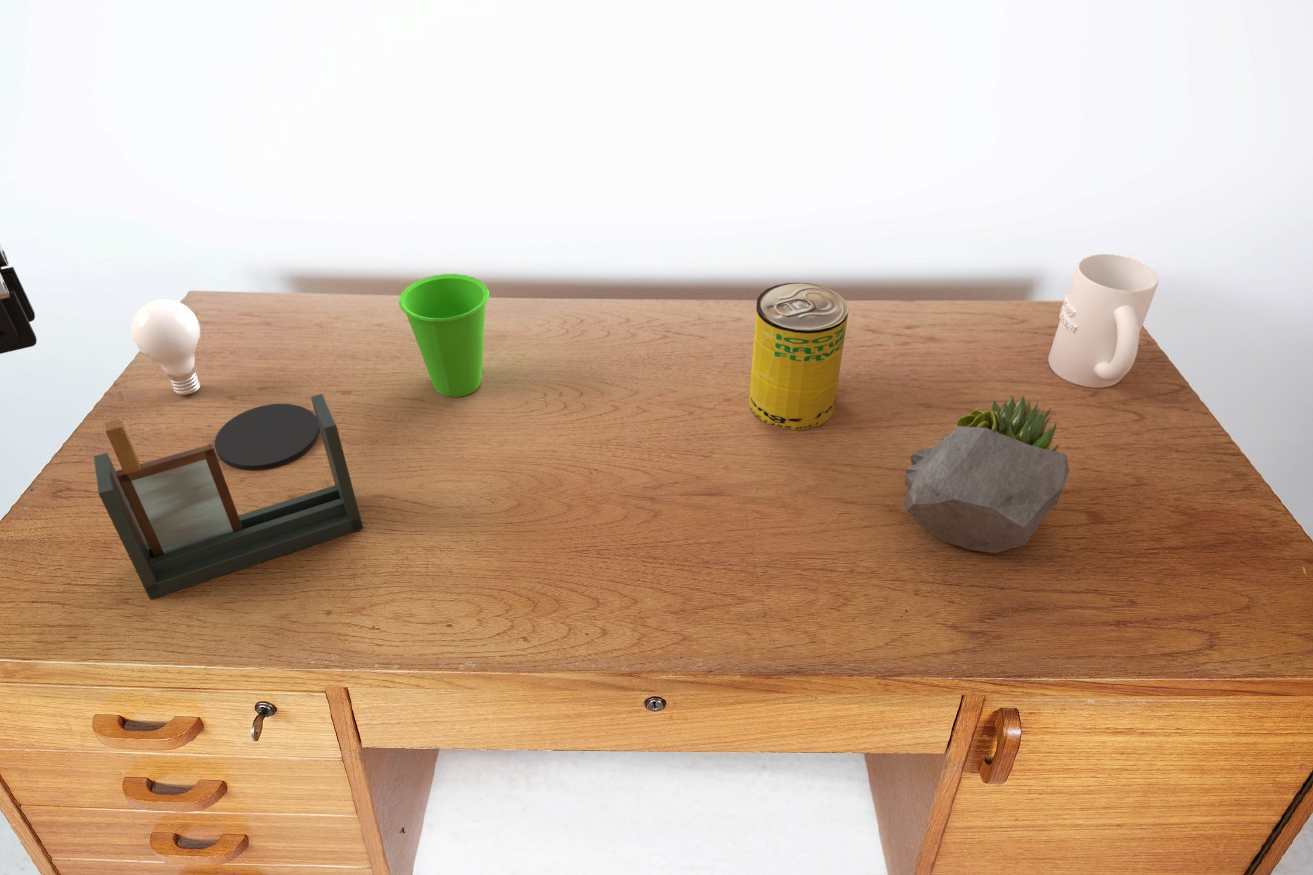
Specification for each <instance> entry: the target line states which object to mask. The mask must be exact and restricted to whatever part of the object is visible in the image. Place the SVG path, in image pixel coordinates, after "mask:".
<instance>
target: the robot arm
mask: <svg viewBox="0 0 1313 875" xmlns="http://www.w3.org/2000/svg"><path fill="white" fill-rule="evenodd" d="M9 266H10V263H9V260H8V257H7V255H6V252H5V250H4V248H3V246H2V244H1V243H0V355H1V354H6V353H9V352H14V351H18V350H24V349H26V348H32V347H34V346H36V345H37V342H38V341H37V335H36V334H35V331H34V329H33V326H32V325H31V322H33V321H34V320H35V319H36V313H35V310H34V309H33V306H32V304H31V301H30V299H29V297H28V295H27V293H26V291H25V289H24V287H23V284H22V282H21V280H20V279H19V277H18V274H17V272H16V270H15V268H14V266H10V267H9Z"/></svg>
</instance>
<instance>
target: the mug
mask: <svg viewBox="0 0 1313 875" xmlns="http://www.w3.org/2000/svg"><path fill="white" fill-rule="evenodd" d="M1158 286H1159V278H1158V275H1157V272H1155V271H1154V269H1153V268H1151V267H1150V266H1148V265H1147V264H1146V263H1143V262H1142V261H1139V260H1136V259H1133V258H1130V257H1127V256H1123V255H1116V254H1106V253H1103V254H1092V255H1089V256H1086V257H1083V258H1082V259H1081V260H1080V261H1079V262H1078V263H1077V264H1076V268H1075V271H1074V274H1073V278H1072V281H1071V284H1070V287H1069V291H1068V293H1066V294H1065V295H1064V298H1063V302H1062V305H1061V308H1060V311H1059V316H1058V317H1059V322H1058V325H1057V329H1056V331H1055V335H1054V338H1053V342H1052V345H1051V348H1050V351H1049V354H1048V357H1047V358H1048V359H1047V361H1048V365H1049V368H1050V369H1051V370H1052V371H1053V372H1054V373H1055V375H1056V376H1058V377H1060V378H1061V379H1063V380H1064V381H1067V382H1068V383H1071V384H1074V385H1077V386H1080V387H1086V388H1095V389H1100V388H1102V389H1103V388H1104V389H1105V388H1110V387H1113V386H1114V385H1116V384H1118V383H1119V382H1120V381H1121V380H1122V379H1123V378H1124V377H1125V376H1127V374H1128V373H1129V372H1130V371H1131V369H1132V367H1133V365H1134V363H1135V361H1136V357H1137V354H1138V351H1139V350H1138V349H1139V344H1140V333H1141V331H1142V328H1143V326H1144V323H1145V321H1146V318H1147V315H1148V312H1149V309H1150V307H1151V304H1152V302H1153V299H1154V296H1155V294H1156V292H1157V288H1158Z"/></svg>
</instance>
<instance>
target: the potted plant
mask: <svg viewBox="0 0 1313 875" xmlns="http://www.w3.org/2000/svg"><path fill="white" fill-rule="evenodd" d="M992 402H993V403H992V407H991V409H988V410H985V411H983V409H981V408H978V409H973V410H971V411H970V413H968V414H965V415H963V416H961V417H960V418H959V419H958V420H957V422H956V425H955V427H954V428H953V430H952V432H950V434H948V435H947V436H946V437H945V438H942V439H941V440H940V441H939V442H937V443H936V444H935V446H933V447H932V448H926V449H918V450H915V451H913V453H912V454H911V455H910V457H909V458H910V463H911V464H912V465H911V466H909V467H907V468H906V469H905V479H904V480H905V481H904V486H905V487H906V488H907V489H908V491H907V493H906V495H905V498H904V500H903V503H902V504H903V506H904V508H905V511H906V512H907V513H908V514H909V515H910V516H911V517H912V518H913V519H914V520H915V521H916V523H917V524H918V525H919V526H920V527H921V528H922V529H924V530H925V531H926V532H927V533H929V534H931V535H932V536H933V537H935V539H937V540H938V541H941V542H944V543H947V544H950V545H953V546H956V547H959V548H963V549H966V550H969V551H973V552H974V551H975V552H983V553H991V554H998V553H1002V552H1005V551H1008V550H1013V549H1015V548H1018V547H1022V546H1026V545H1027V544H1028V542H1029V541H1030V539H1031V537H1033V535H1034V533H1035V532H1036V530H1037V529H1038V527H1039V526H1040V524H1041V523H1042V521H1043V520H1044V518H1045V517H1046V516H1047V514H1049V512H1050V511H1051V510H1052V509H1053V508H1054V507H1056V505H1057V504H1058V502H1059V499H1060V497H1061V495H1062V492H1063V489H1064V486H1065V484H1066V481H1067V479H1068V476H1069V473H1070V466H1069V461H1068V456H1067V454H1066V453H1062V452H1058V451H1057V450H1058V448H1059V446H1060V443H1059V444H1057V445H1056V446H1055V447H1053V448H1052V449H1051V446H1052V442H1053V438H1054V435H1055V432H1056V429H1057V420H1056V421H1055V422H1054V425H1053V426H1052V427H1051V426H1050V427H1048V428H1047V425H1048V424H1049V421H1050V419H1051V418H1050V417H1049V414H1050V412H1051V411H1052V410H1051V409H1052V407H1049V409H1048V410H1047V412H1046V413H1045V414H1044V410H1042V411H1041V412H1040V410H1041V407H1039V402H1037V403H1036V404H1035V406H1034V407H1033V408H1032V406H1031V399H1028V401H1027V402H1026V400H1025V395H1022V396H1021V399H1020V400H1018V402H1017V403H1016V401H1015V398H1014V395H1013V394H1011V395H1010V396H1009V398H1008V401H1006V400H1004V403H1003V404H1002V405H1001V406H999V404H998V403H997V401H996V400H995V399H993V401H992ZM1043 414H1044V415H1043ZM1047 418H1048V419H1047ZM1046 428H1047V430H1046Z"/></svg>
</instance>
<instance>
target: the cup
mask: <svg viewBox="0 0 1313 875" xmlns="http://www.w3.org/2000/svg"><path fill="white" fill-rule="evenodd" d="M489 299H490V290H489V288H488V287H487V286H486V284H485V283H483V282H482V281H481V280H479V279H477V278H476V277H473V276H469V275H465V274H457V273H444V274H436V275H431V276H427V277H424V278H421V279H419V280H417V281H414V282H412V283H411V284H409V285H408V286H407V287H406V288H404V290H403V291H402V293H401V294H400V296H399V299H398V300H399V301H398V305H399V307H400V310H401V311H402V312H403V313H404V314H405V315H406V316H407V320H408V322H409V324H410V328H411V330H412V333H413V335H414V338H415V341H416V344H417V346H418V349H419V351H420V354H421V356H422V359H423V362H424V364H425V367H426V370H427V372H428V375H429V378H430V380H431V383H432V385H433V387H434V388H435V390H436V391H437V393H439V394H440V395H443V396H446V397H451V398H458V397H463V396H464V397H465V396H467V395H470V394H472V393H474V392H475V391H476V390H477V389H478V388H480V385H481V383H482V381H483V366H484V347H485V346H484V344H485V343H484V342H485V327H486V307H487V303H488V301H489Z"/></svg>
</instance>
